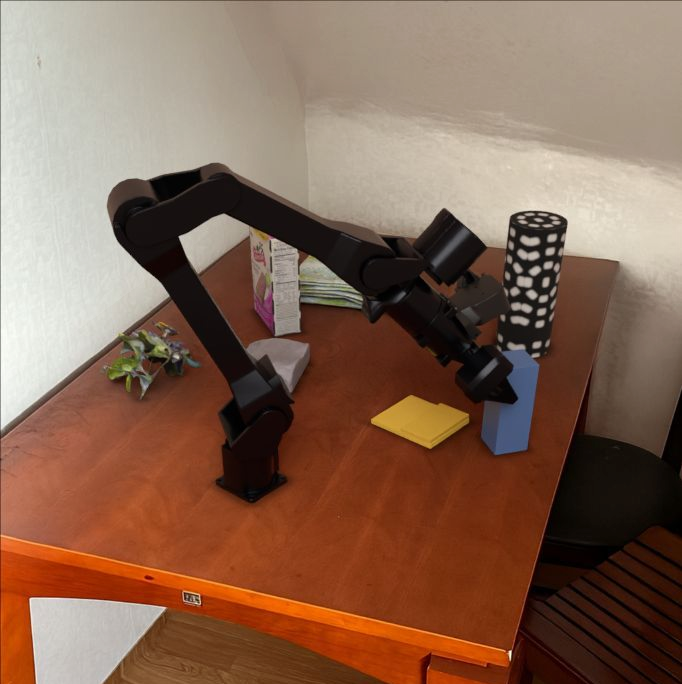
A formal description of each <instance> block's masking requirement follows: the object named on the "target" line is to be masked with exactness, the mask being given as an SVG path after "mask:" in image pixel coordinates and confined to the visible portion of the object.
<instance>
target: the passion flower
mask: <svg viewBox="0 0 682 684" xmlns="http://www.w3.org/2000/svg"><path fill="white" fill-rule="evenodd" d="M151 323H152V325H153V326H154V327H156V328H158V329H159V330H160V331H162V332H163V334H162V335H158V334H157V333H156V332H153V331H150V330H149V329H148V331H146V330H145V329H144V328H141V329H140V330H139V329H137V328H136V329H135V331H136V332H134V331H132V333H131V335H126V334H123V333H122V332H121V331H119V332H118V338H119V339H120V341H122V343H123V345H122V346H121V349H120V355H124V354H125V353H130V352H134V353H131V354H130V355H129V356H122V357H117V358H115V360H114V361H113V363H111V366H110V364H109V363H108V362H107V363H106V362H105V363H103V364H104V365H103V367H102V368H101V370H100V374H101V376H105V375H106V376H107V378H108V379H109V380H110V381H114V380H116V379H118V380H121V379H122V377H124V376H126V381H125V388H126V391H127V392H128V393H129V394H130V393H131V388H132V382H133V380H134V379H135V377H138V378H139V383H140V386H141V395H140V397H139V400H140V401H141V400H142V399H143V397H144V395H145V394H146V391H147V390H148V388H149V387H150V385H151V384H152V383H154V382H155V377H156V376H157V375H158V374H159V373H160V372H161V370H162V369H164V372H165V374H166V375H168V376H169V377H175V376H176V375H177V376H181V377H185V376H186V373H185V371H184V366H185V365H188V366H190V367H191V368H194V369H200V368H201V367H202V362H200V361H197V360H195V359H193V358H192V356H191V350H190V349H189V348H184V347H182V345H183V344H184V342H182V341H177V340H174V341H170V340H171V338H167V335H169V336H171V337H174V336H177V335H180V332H178V330H177V329H175V328H174V327H173V326H172V325H169V324H166V323H164V322H162V321H155V320H153V321H151ZM134 354H135V355H134ZM146 360H147V361H148V362H149V363H150V364H149V368H148V370H145V369H144V367H143V362H145V361H146ZM159 363H160V364H161V365H160V367H159V368H158V369H157V370H156V371H155V372H154V373H153V374H151V371H152V365H153V364H154V365H155V364H159ZM106 370H107V372H106ZM138 372H141V373H143V374H144V375H143V374H139V373H138Z"/></svg>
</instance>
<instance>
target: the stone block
mask: <svg viewBox="0 0 682 684" xmlns="http://www.w3.org/2000/svg"><path fill="white" fill-rule="evenodd" d="M245 349H246V350H247V351H248V352H249V354H251V355H252V356H253V357H254V358H255V359H257V360H259V359H260V358H262V357H263V356H264V355H265V354H267V355H268V356H269V358H270V360H271V362H272V364H273V366H274V368H275V370H276V372H277V373H278V374H279V375H281V376H282V378H283V380H284V382H285V384H286V386H287V388H288V390H289V391H290V393H291V394H293V392H294V390H295V388H296V386H297V385H298V383H299V381H300V379H301V377H302V375H303V373H304V371H305V370H306V369H307V366H308V364H309V362H310V359H311V351H310V350H311V346H310V343H308V342H306V343H304V342H301V341H297V340H292V339H289V338H277V337H271V338H267V339H259V340H256V341H254V342H251V343H249V345H248V347H247V348H245Z"/></svg>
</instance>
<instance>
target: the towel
mask: <svg viewBox="0 0 682 684" xmlns="http://www.w3.org/2000/svg"><path fill="white" fill-rule="evenodd" d="M300 301H301V304H312V305H323V306H332V307H333V306H335V307H343V308H352V309H359V310H361V308H362V302H363V299H362V294H361V293H359V292H358V291H356V290H355V289H354V288H352V287H351V286H350V285H348V284H347V283H346V282H344V281H343V280H342V279H340V278H339V277H338V276H337V275H336V274H334V273H333V272H332V271H331V270H330V269H329V268H327V267H326V266H325V265H324V264H323V263H321V262H320V261H319V260H317V259H316V258H314V257H312V256H310V255H308V256H307V258H305V259H304V260H303V262H301V263H300Z"/></svg>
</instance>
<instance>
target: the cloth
mask: <svg viewBox="0 0 682 684" xmlns="http://www.w3.org/2000/svg"><path fill="white" fill-rule="evenodd" d="M469 423H470V414H469V413H466V412H464V411H463V410H459V409H457V408H456V407H455V408H454V407H452V406H449V405H447V404H445V403H442V402H439V403H438V404H435V403H432V402H430V401H427V400H425V399H423V398H421V397H418V396H416V395H413V394H410V395H408V396H406V397H405V398H403V399H401V400H400V401H399V402H397V403H395V404H393V405H392V406H390V407H389V408H387V409H385V410H384V411H382V412H380V413H379V414H377V415H376V416H374V417H372V418H371V419H370V424H371V425H375V426H377V427H379V428H381V429H384V430H386V431H388V432H390V433H392V434H395V435H397V436H400V437H401V438H404V439H406V440H409V441H410V442H413V443H416V444H418V445H420V446H423V447H425V448H427V449H429V450H431V449H432V448H434V447H435V446H437V445H439V444H440V443H441V442H443V441H444V440H446V439H447V438H449V437H451V435H453V434H454V433H456V432H458V431H459V430H460V429H462V428H463V427H465V426H466V425H468V424H469Z"/></svg>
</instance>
